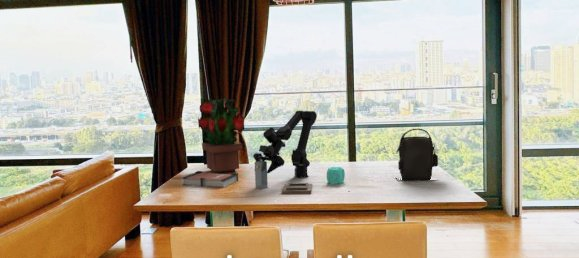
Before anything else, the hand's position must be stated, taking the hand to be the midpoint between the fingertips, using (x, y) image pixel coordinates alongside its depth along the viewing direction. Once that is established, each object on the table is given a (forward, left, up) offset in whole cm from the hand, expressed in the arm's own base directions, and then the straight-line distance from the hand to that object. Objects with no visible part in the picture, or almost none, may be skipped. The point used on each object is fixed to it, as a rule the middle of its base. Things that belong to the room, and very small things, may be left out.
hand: (261, 172), depth 250 cm
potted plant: (+9, -54, -9) cm, 55 cm away
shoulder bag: (-83, +20, -9) cm, 86 cm away
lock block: (0, 0, -8) cm, 8 cm away
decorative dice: (-40, +7, -9) cm, 41 cm away
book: (+23, -24, -9) cm, 35 cm away
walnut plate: (-15, +14, -8) cm, 22 cm away
